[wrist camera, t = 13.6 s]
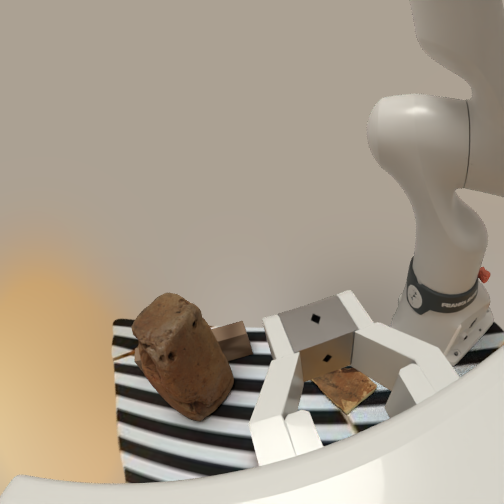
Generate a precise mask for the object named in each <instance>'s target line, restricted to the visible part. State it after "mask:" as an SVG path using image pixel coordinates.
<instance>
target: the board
mask: <svg viewBox="0 0 504 504" xmlns="http://www.w3.org/2000/svg"><path fill="white" fill-rule="evenodd" d="M211 330H212V332H213V334H214V336H215V337H216V339H217V341H218V343H219V345H220V348H221V350H222V353H223V354H224V355H225V357H226V359H227V361H230V360H234V359H237V358H241V357H244V356H248V355H251V354H253V352H252V348H251V345H250V341H249V338H248V335H247V332H246V329H245V326H244V324H243V321H240V322H236V323H233V324H229V325H226V326H222V327H218V328H215V329H211ZM135 363H136V364H137V365H138V366H139V368H140V369H141V370H142V371H143V369H142V363H141V359H140V355H139V348H135ZM143 372H144V371H143Z"/></svg>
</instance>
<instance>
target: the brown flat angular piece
mask: <svg viewBox="0 0 504 504" xmlns="http://www.w3.org/2000/svg"><path fill="white" fill-rule="evenodd" d="M311 381H313V382H314V383H315V384H317V385H318V387H319V388H320V390H321V391H322V392H324V393H325V394H326V396H327V397H328V398H329V399H331V401H332V402H333V403H334V404H335V405H336V406H337V407H339V408H340V409H341V410H342V411H343V412H345V414H349V413H350V412H351V411H352V410H353V409H354V408H355V407H356V406H357V405H358V404H360V403H361V402H362V401H363V400H365V399H366V398H367V397H368V396H369V395H371V394H372V393H373V392H374V391H375V389H376V388H377V385H376V384H375V383H374V382H372V381H371V380H370V379H369V378H368V377H367V376H366V375H365V374H363V373H362V372H360V371H358V370H357V369H355V368H353V369H338V370H335V371H332V372H329V373H326V374H324V375H321V376H319V377H316V378H314V379H311Z"/></svg>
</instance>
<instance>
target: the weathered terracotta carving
mask: <svg viewBox="0 0 504 504" xmlns="http://www.w3.org/2000/svg"><path fill="white" fill-rule="evenodd" d="M131 328H132V332H133V335H134V336H135V337H136V338H137V339H138V341H139V355H140V359H141V363H142V369H143V371H144V374H145V376H146V377H147V379H148V380H149V382H150V383H151V384H152V386H153V387H154V388H155V389H156V391H157V392H158V393H159V394H160V395H161V396H162V397H163V398H164V399H165V400H166V401H167V402H168V403H169V404H170V405H171V406H172V407H173V408H174V409H176V410H177V411H178V412H179V413H181V414H182V415H184V416H186V417H188V418H190V419H192V420H196V421H201V420H203V419H204V418H205V417H206V416H208V415H209V414H211V413H212V412H214V411H215V410H216V409H217V408H218V407H219V405H220V404H221V403H222V402H223V401H224V400H225V398H226V397H227V395H228V394H229V392H230V390H231V388H232V386H233V383H234V378H233V374H232V371H231V368H230V366H229V363H228V361H227V359H226V357H225V355H224V354H223V353H222V350H221V348H220V345H219V343H218V341H217V339H216V337H215V336H214V334H213V332H212V330H211V328H210V327H209V325H208V324H207V322H206V321H205V319H203V318H202V314H201V311H200V309H199V308H198V307H197V306H196V305H194V304H192V303H190V302H188V301H187V300H185V299H184V298H183V297H181V296H179V295H177V294H173V293H165V294H163V295H161V296H159V297H157V298H156V299H155V300H154V301H153V302H152V303H151V304H150V305H149V306H148V307H146V308H145V309H144V310H143V311H142V312H141V313H140V314H139V315H138V317H137V318H136V320H135V321H134V323H133V325H132V327H131Z"/></svg>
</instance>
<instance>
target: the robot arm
mask: <svg viewBox="0 0 504 504" xmlns="http://www.w3.org/2000/svg"><path fill="white" fill-rule="evenodd" d="M409 1H410V5H411V10H412V15H413V20H414V26H415V32H416V37H417V40H418V42H419V44H420V46H421V47H422V49H423V50H424V51H425V53H426V54H427V55H428V56H429V57H431V58H432V59H433V60H435V61H436V62H437V63H439V64H440V65H442V66H443V67H445V68H447V69H448V70H450V71H452V72H453V73H455V74H457V75H458V76H460V77H461V78H463V79H464V80H465V81H466V82H467V83H468V84H469V85H470V86H471V89H472V98H471V99H470V100H460V99H454V98H447V97H440V96H433V95H424V94H407V95H397V96H390V97H384V98H381V99H380V100H379V101H378V103H377V104H376V105H375V106H374V108H373V109H372V111H371V113H370V116H369V119H368V124H367V139H368V144H369V148H370V150H371V153H372V155H373V157H374V158H375V160H376V161H377V163H378V164H379V165H380V166H381V168H383V169H384V170H385V171H386V172H388V173H389V174H390V175H391V176H392V177H393V178H394V179H395V180H396V181H397V182H398V183H399V185H400V186H401V187H402V189H403V190H404V192H405V193H406V195H407V197H408V198H409V200H410V202H411V205H412V207H413V210H414V213H415V219H416V242H415V252H414V256H413V257H412V260H411V262H410V265H409V271H408V277H407V282H406V285H405V288H404V291H403V293H401V294H400V296H399V299H398V308H397V310H396V312H395V314H394V316H393V318H392V322H391V327H389V326H387V325H385V324H382V323H380V322H377V323H374V322H373V320H372V319H371V318H370V316H369V315H368V314H367V312H366V311H365V309H364V308H363V306H362V305H361V303H360V302H359V301H358V299H357V298H356V296H355V295H354V294H353V292H352V291H350V290H348V291H345V292H342V293H339V294H336V295H333V296H330V297H327V298H325V299H322V300H319V301H316V302H313V303H310V304H308V305H306V306H303V307H299V308H296V309H293V310H289V311H286V312H282V313H279V314H276V315H273V316H269V317H266V318H263V319H262V321H263V325H264V329H265V333H266V337H267V341H268V344H269V348H270V351H271V355H272V358H273V360H272V361H271V364H270V367H269V370H268V372H267V375H266V378H265V381H264V384H263V387H262V389H261V392H260V395H259V398H258V400H257V403H256V406H255V409H254V411H253V414H252V417H251V419H250V422H249V428H250V432H251V436H252V440H253V444H254V448H255V452H256V455H257V459H258V463H259V466H258V467H254V468H250V469H245V470H241V471H236V472H231V473H226V474H220V475H215V476H209V477H202V478H195V479H187V480H178V481H168V482H155V483H132V484H105V483H104V484H103V483H84V482H71V481H61V480H53V479H45V478H39V477H33V476H27V475H17V476H16V477H14V478H13V480H12V481H11V482H10V483H9V485H8V486H7V487H6V489H5V490H4V492H3V493H2V495H1V496H0V504H504V345H503V346H502V347H500V348H499V349H498V350H497V351H495V352H494V353H493V354H492V355H490V356H489V357H488V358H486V359H485V360H484V361H482V362H481V363H480V364H478V365H477V366H476V367H474V368H473V369H472V370H470V371H469V372H467V373H466V374H464V375H463V376H461V377H459V376H458V374H457V373H456V371H455V370H454V368H453V367H452V366H454V365H455V364H457V363H458V362H459V361H460V360H461V359H462V358H463V357H464V355H465V354H466V353H467V352H468V351H469V350H470V349H471V348H472V347H473V346H474V345H475V344H476V343H477V342H478V340H479V339H480V338H481V337H482V336H483V335H484V334H485V333H486V331H487V330H488V329H489V328H490V327H491V325H492V324H493V321H494V318H493V314H492V312H491V309H490V308H489V305H490V297H489V294H488V292H487V290H486V289H485V287H484V286H483V285H482V284H481V283H480V282H479V281H478V278H480V280H481V281H482V282H483V283H485V282H487V281H488V279H489V277H490V273H489V272H488V271H486V270H485V268H484V267H481V264H482V261H483V257H484V254H485V251H486V247H487V243H488V235H487V230H486V227H485V224H484V222H483V221H482V219H481V218H480V217H479V215H478V214H477V213H476V212H475V211H474V210H473V209H472V208H471V207H469V206H468V205H467V204H466V203H464V202H463V201H462V200H461V199H460V198H459V197H458V195H457V194H456V192H455V190H456V189H458V188H466V189H470V190H475V191H480V192H484V193H489V194H493V195H497V196H501V197H504V9H503V3H502V0H409ZM480 267H481V268H480ZM454 354H456V355H457V356H455V355H454ZM349 365H351V366H352V367H354V368H355V369H357V370H358V371H360V372H362V373H363V374H365V375H366V376H368V377H370V378H371V379H373V380H374V381H376V382H378V383H379V384H381V385H382V386H384V387H386V388H387V389H389V390H391V391H392V392H391V394H390V396H389V399H388V401H387V403H386V406H385V410H386V412H387V413H388V415H389V417H390V419H388V420H386V421H384V422H382V423H379V424H377V425H375V426H373V427H371V428H369V429H366V430H364V431H362V432H360V433H357V434H355V435H353V436H350V437H348V438H345V439H343V440H340V441H338V442H335V443H333V444H330V445H327V446H324V447H323V445H322V443H321V440H320V438H319V435H318V433H317V431H316V428H315V426H314V423H313V421H312V418H311V416H310V413H309V412H308V411H304V410H300V411H297V410H298V406H299V402H300V398H301V393H302V389H303V385H304V382H306V381H308V380H311V379H314V378H316V377H319V376H321V375H324V374H326V373H329V372H332V371H335V370H338V369H341V368H343V367H346V366H349Z"/></svg>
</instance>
